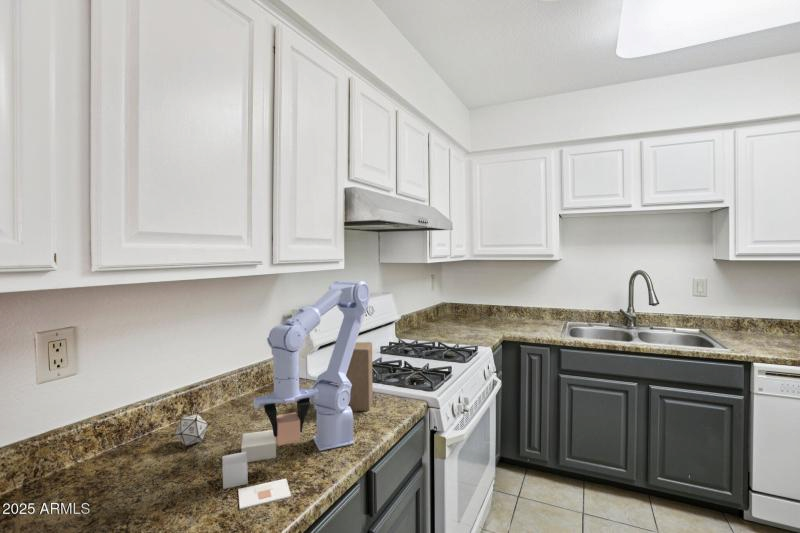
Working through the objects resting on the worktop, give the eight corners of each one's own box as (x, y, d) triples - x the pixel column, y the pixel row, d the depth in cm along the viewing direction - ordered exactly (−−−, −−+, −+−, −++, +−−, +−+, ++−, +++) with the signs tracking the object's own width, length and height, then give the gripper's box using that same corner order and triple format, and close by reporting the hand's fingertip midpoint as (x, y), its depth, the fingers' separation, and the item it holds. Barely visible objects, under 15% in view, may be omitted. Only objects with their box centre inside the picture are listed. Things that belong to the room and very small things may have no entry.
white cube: (246, 472, 95) (246, 451, 94) (247, 484, 90) (247, 461, 90) (223, 477, 93) (222, 456, 92) (223, 489, 88) (222, 466, 88)
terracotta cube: (296, 432, 100) (296, 412, 99) (300, 441, 95) (300, 420, 95) (275, 436, 98) (275, 415, 97) (278, 445, 93) (277, 423, 93)
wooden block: (343, 399, 140) (343, 341, 139) (372, 399, 140) (372, 342, 139) (338, 411, 130) (337, 349, 129) (369, 411, 130) (368, 349, 129)
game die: (194, 454, 110) (207, 416, 116) (207, 452, 105) (221, 412, 111) (160, 447, 105) (176, 407, 111) (173, 445, 100) (188, 403, 106)
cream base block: (275, 444, 109) (275, 429, 109) (276, 458, 101) (275, 442, 101) (243, 448, 106) (242, 433, 106) (241, 464, 99) (241, 448, 99)
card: (286, 479, 91) (286, 477, 91) (291, 497, 85) (291, 495, 85) (238, 490, 87) (238, 488, 87) (239, 509, 81) (239, 507, 81)
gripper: (255, 385, 89) (256, 446, 90) (321, 376, 95) (321, 433, 96) (252, 376, 95) (254, 433, 96) (314, 368, 101) (315, 422, 102)
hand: (287, 432), depth 96 cm, fingers closed on terracotta cube, 5 cm apart
